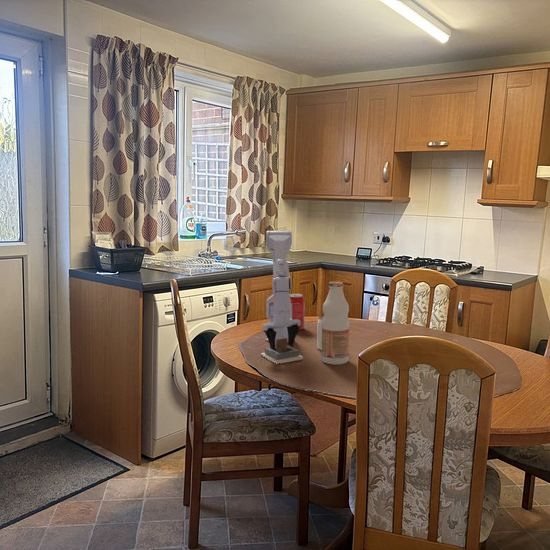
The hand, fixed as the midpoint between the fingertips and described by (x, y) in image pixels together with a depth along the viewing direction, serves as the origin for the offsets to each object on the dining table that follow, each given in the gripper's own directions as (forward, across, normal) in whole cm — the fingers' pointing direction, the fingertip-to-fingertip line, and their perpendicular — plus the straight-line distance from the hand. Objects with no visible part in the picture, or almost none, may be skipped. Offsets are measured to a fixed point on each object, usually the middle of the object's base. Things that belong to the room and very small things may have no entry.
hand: (281, 347), depth 192 cm
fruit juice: (+4, +14, -13) cm, 20 cm away
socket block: (+4, 0, 0) cm, 4 cm away
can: (+4, +20, +1) cm, 20 cm away
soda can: (+4, +26, +32) cm, 41 cm away
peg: (+3, 0, 0) cm, 3 cm away
